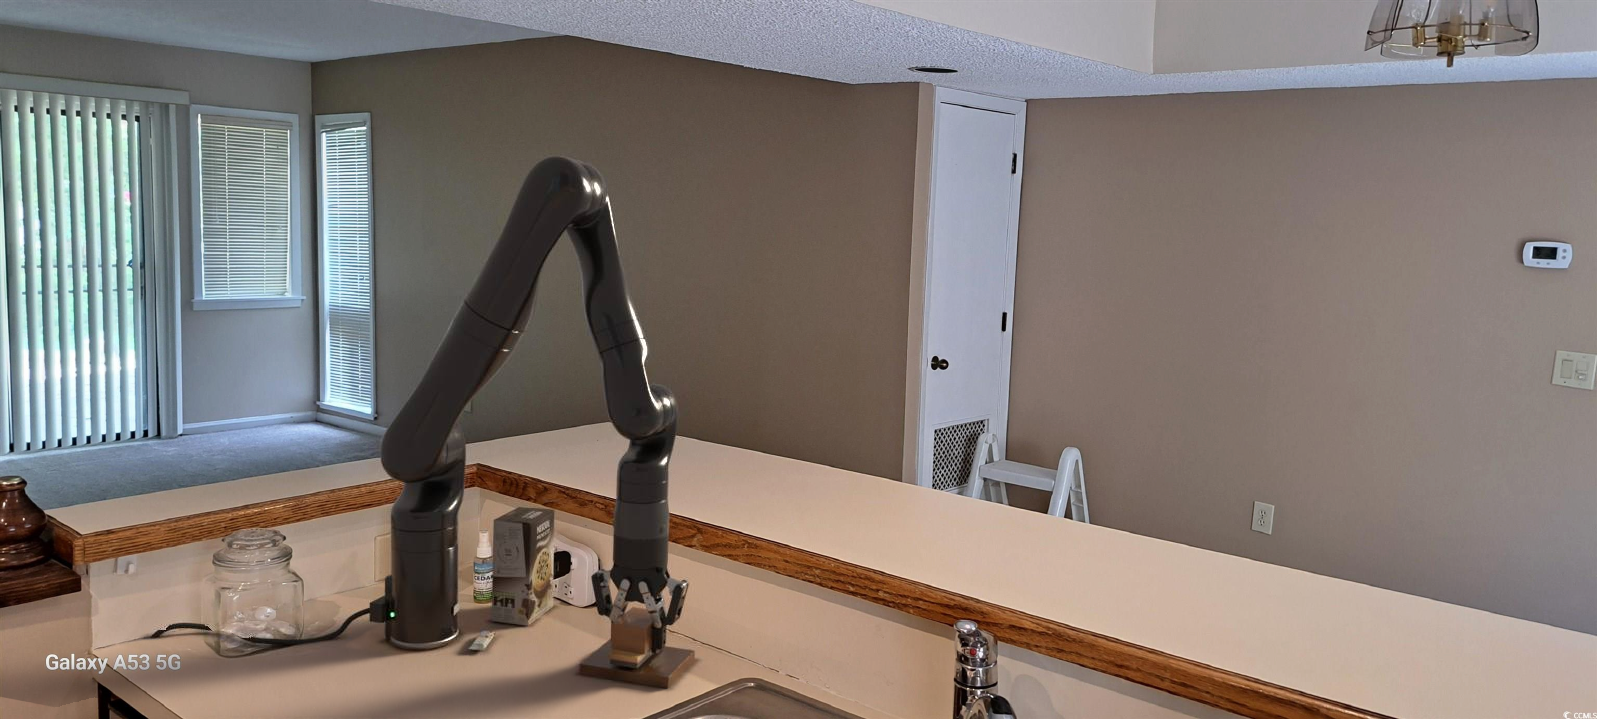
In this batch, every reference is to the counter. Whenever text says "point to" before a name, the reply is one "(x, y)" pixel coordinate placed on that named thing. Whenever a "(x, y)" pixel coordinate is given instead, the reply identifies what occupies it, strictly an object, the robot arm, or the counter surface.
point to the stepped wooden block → (631, 638)
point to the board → (652, 672)
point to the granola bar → (482, 640)
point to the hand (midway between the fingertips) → (637, 647)
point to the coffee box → (522, 565)
